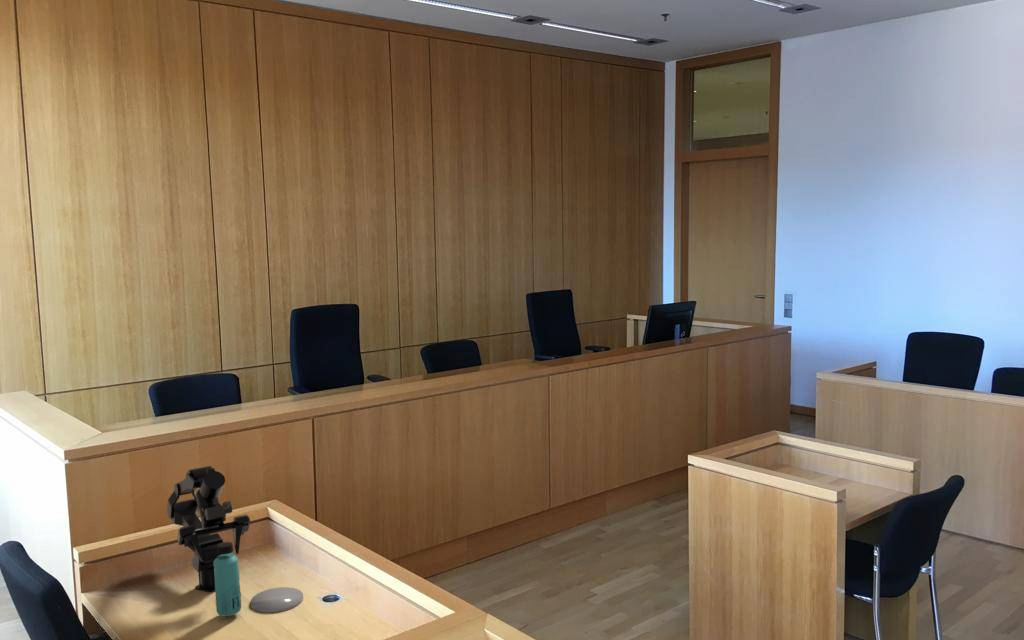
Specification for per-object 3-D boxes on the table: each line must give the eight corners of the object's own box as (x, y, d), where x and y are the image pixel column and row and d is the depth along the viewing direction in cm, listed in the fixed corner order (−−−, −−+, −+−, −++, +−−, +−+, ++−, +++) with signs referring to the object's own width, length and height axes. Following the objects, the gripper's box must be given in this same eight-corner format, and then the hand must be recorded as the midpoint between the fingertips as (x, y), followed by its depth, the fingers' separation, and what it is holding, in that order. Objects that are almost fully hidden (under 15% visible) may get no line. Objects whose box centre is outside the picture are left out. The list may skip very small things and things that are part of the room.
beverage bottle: (234, 622, 217) (229, 549, 214) (211, 620, 218) (206, 547, 216) (246, 611, 223) (242, 539, 221) (224, 609, 224) (220, 538, 222)
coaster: (239, 607, 226) (239, 604, 225) (274, 586, 238) (274, 583, 238) (280, 616, 220) (280, 613, 220) (313, 594, 232) (313, 592, 232)
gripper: (176, 499, 223) (187, 552, 215) (247, 486, 233) (259, 537, 225) (173, 518, 231) (183, 570, 223) (241, 505, 241) (253, 554, 233)
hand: (220, 557), depth 226 cm, fingers open, 9 cm apart
